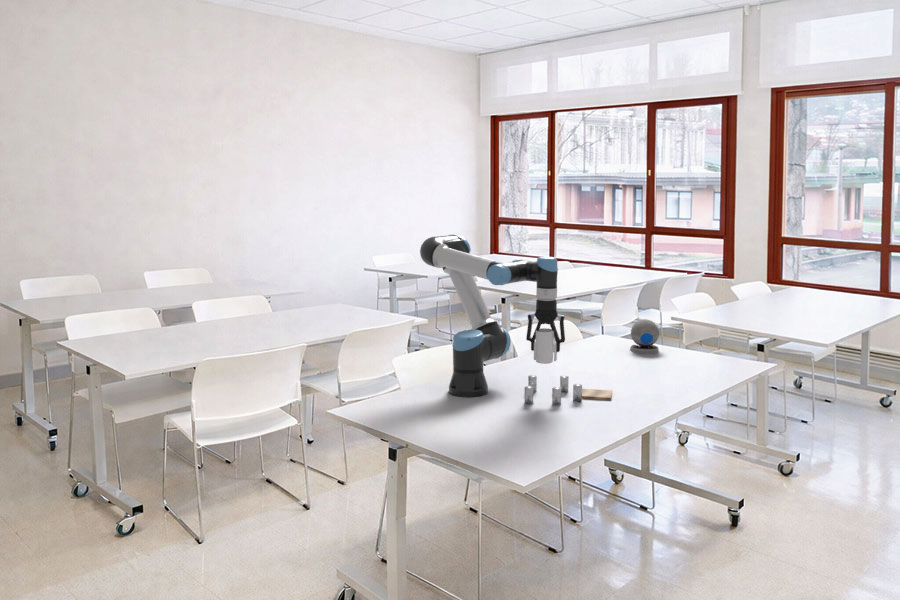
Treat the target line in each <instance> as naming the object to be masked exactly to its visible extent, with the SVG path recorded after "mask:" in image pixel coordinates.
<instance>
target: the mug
mask: <svg viewBox="0 0 900 600" xmlns="http://www.w3.org/2000/svg"><path fill="white" fill-rule="evenodd" d="M535 341H536V360H535V362H536V363H537V364H542V365H548V364H552V363H553V362H554V344H555V342H556V340H555V337H554V331H552V329H551V328H545V327H544V328H541V327H540V329H539V331H536V339H535Z"/></svg>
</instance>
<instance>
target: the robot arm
mask: <svg viewBox="0 0 900 600" xmlns="http://www.w3.org/2000/svg"><path fill="white" fill-rule="evenodd" d="M471 251H472V250H471V245H470V243H469V242H468V240H467V239H466V237H464V236H462V235H459V234H448V235H440V236H431V237H429V238H426V239H425V240H424V241H423V242H422V244H421V245H420V249H419V254H420V258H421V260H422V261H423V262H424V263H425V264H426V265H428V266H430V267H434V268H438V269H442V270H443V272H444V273H446V274H448V275H449V278H450V279H451V282H452V284H453V286H454V287H453V288H454V289H455V290H456V291H455V292H456V293H457V296H458V299H459V300H460V302H461V303H460V304H461V306H462V308H463V310H464V313H465V314H466V316H467V318H468V320H469V323H470V326H471V329H467V330H466V329H465V330H461V331H459V332H457V333H455V334H454V336H453V338H452V339H453V340H452V365H453V367H452V376H451V378H450V382H449V385H448V392H450V393H451V394H450V393H449V394H450V395H452V394H453V396H456V395H458V396H457V397H462V396H467V397H466V398H471V397H480V396H485V395H486V394H487V393H488V392H489V385H488V382H487V379H486V376H485V373H484V362H488V361H490V360H494V359H499V358H501V357H503V356H505V355H506V354H507V353H508V352H509V350H510V347H511V336H510V334H509V332H508V331H507V329H505V328H504V327H501V326H499V325H500V324H499V323H498V321H497V320H495V319H493V318H492V316H491V314H490V312H489V310H488V307H487V306H486V303H485V300H484V299H483V296H482V294H481V291H480V289H479V287H478V285H477V283H476V279H475V277H478V278H479V279H483V280H487V281H489V283H491V285H494V286H505V285H508V284H514V283H515V284H516V283H520V282H534V283H536V292H535V293H536V295H535V296H536V298H537V299H536V301H535V303H536V304H535V312H534V313H528V314H527V321H528V322H527V328H526V329H527V330H526V331H527V332H526V338H525V340H526V341H529V342H530V350H531V351H532V352H533V361H536V331H539V329H541V326H542V325H545V324H546V325H549V326H550V329H552V331H554V337H555V340H556V342H555V344H554V352H553V362H557V360H558V359H557V358H558V353H560V351H561V344H562V343H565V341H566V335H565V332H566V331H565V323H564V321H565V317H566V316H565V315H564V314H558V311H557V309H558V308H557V307H558V305H557V304H558V303H557V302H558V300H557V297H558V271H559V268H558V259H557V257H555V256H539V257H538V258H537V259H536V261H533V260H532V261H531V260H526V259H525V260H524V259H514V260H512V261H511V262H501V261H498V260H497V261H496V260H493V259H491V258H487V257H484V256H483V257H482V256H480V255H475V254H472V253H471ZM535 318H536V320H537V321H538V322H537V324H536V326H535V329H534V332H533V335H532V328H533V320H534V319H535ZM556 319H557V320H558V321H559V331H560V336H559V333H558V330H557V328H556V327H557V326H556V323H555V321H556ZM531 335H532V337H531Z"/></svg>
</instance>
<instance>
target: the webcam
mask: <svg viewBox="0 0 900 600" xmlns="http://www.w3.org/2000/svg"><path fill="white" fill-rule="evenodd" d="M630 337H631V339H632V341H633V342H634V343H635V344H632V345H631V346H630V348H629V350H630V351H631V352H634V353H638V354H656V353H658V352H659V346H657V345H654V344H655V343H657V341H658V339H659V337H660V330H659V326H658V325H657V324H656V323H655V322H654V321H653V320H650V319H646V318H644V319H643V318H642V319H639V320H638V321H635V323H633V325H632V327H631V329H630Z"/></svg>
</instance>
